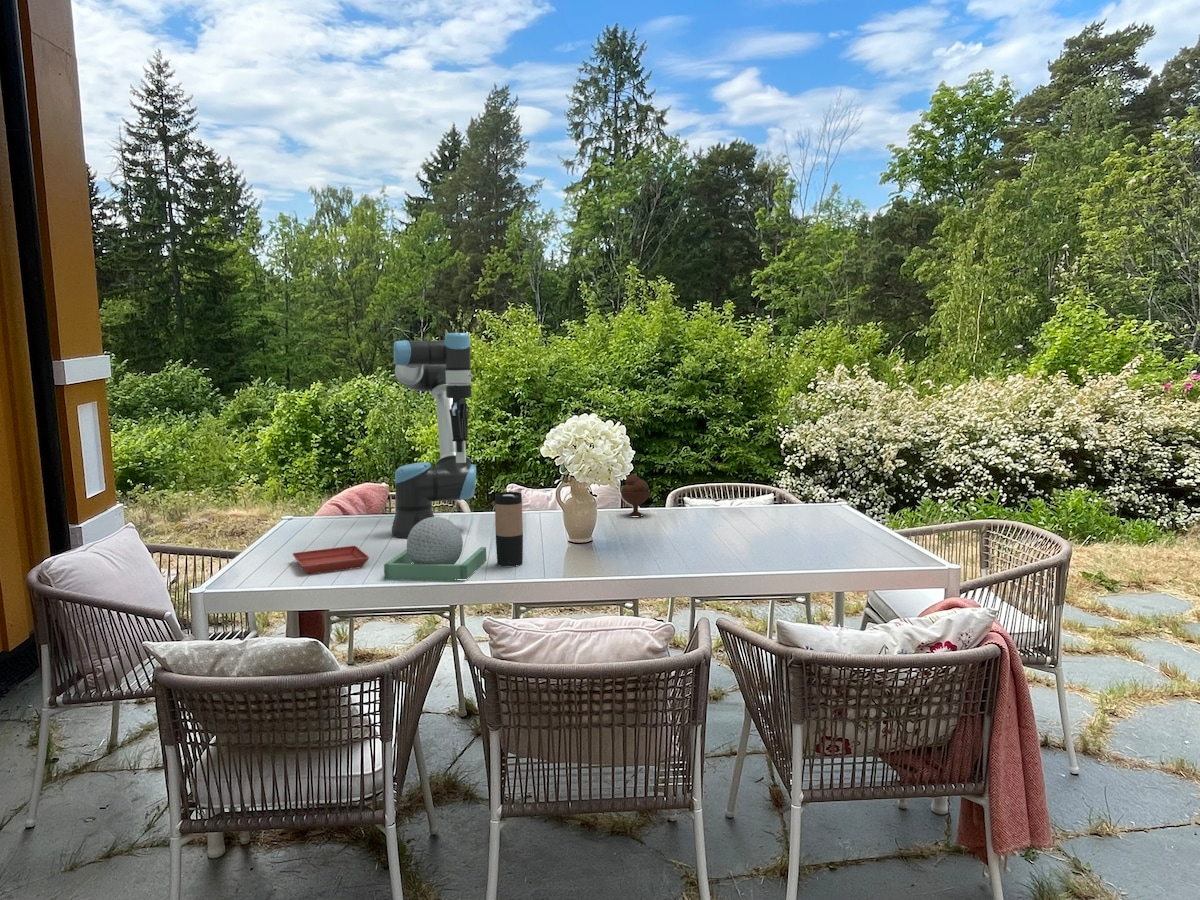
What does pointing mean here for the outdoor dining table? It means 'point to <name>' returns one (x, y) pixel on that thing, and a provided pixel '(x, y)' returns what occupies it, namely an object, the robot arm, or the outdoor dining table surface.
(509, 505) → the travel mug
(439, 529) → the decorative ball
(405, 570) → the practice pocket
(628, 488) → the ice cream bowl
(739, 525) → the outdoor dining table surface
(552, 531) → the outdoor dining table surface
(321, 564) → the plant saucer
